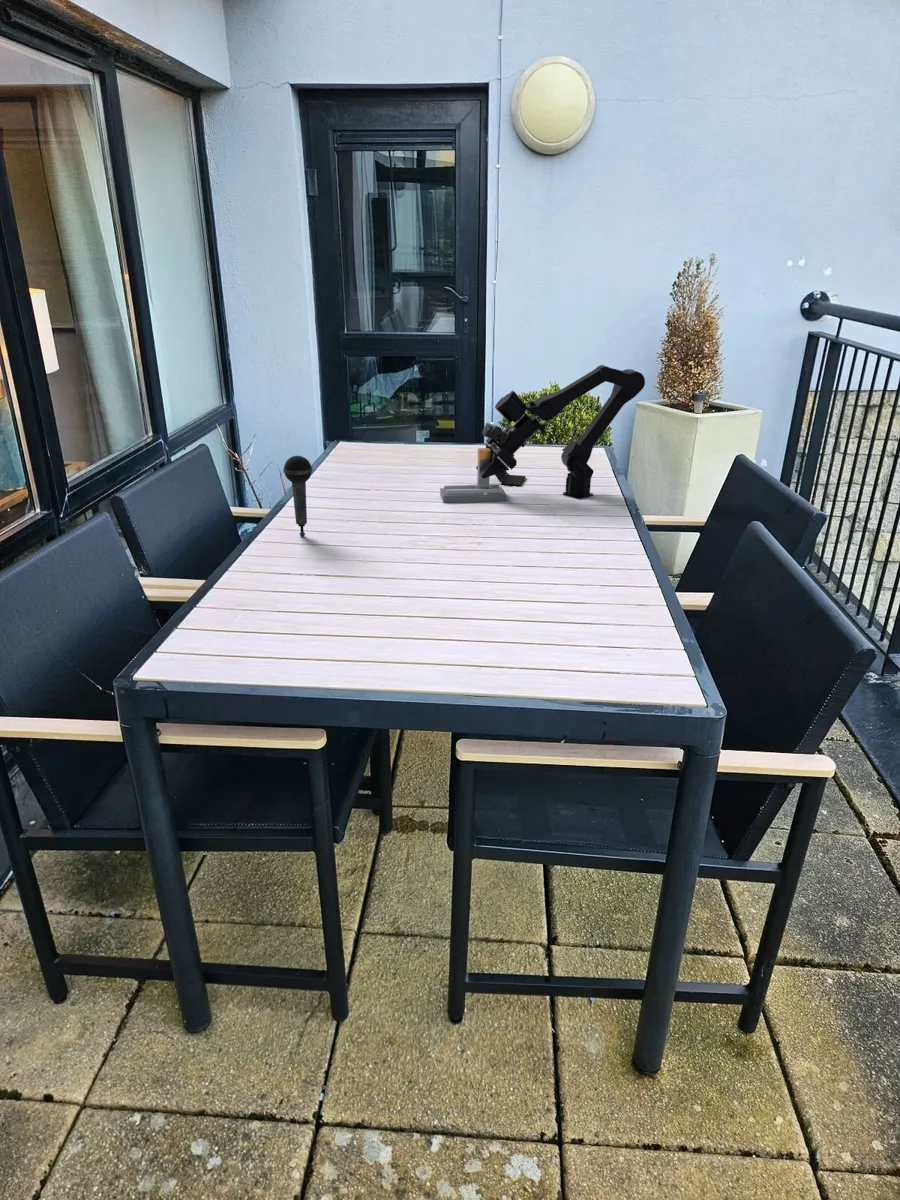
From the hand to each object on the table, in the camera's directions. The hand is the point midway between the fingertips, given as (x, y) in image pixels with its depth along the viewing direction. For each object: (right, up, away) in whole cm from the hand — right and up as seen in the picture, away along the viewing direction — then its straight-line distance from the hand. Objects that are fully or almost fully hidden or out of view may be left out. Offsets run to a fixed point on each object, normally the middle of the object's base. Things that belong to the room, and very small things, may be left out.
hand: (479, 473), depth 223 cm
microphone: (-45, -21, -30) cm, 58 cm away
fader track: (-2, -7, +3) cm, 7 cm away
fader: (+1, -5, +2) cm, 5 cm away
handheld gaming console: (+10, 0, +20) cm, 22 cm away
